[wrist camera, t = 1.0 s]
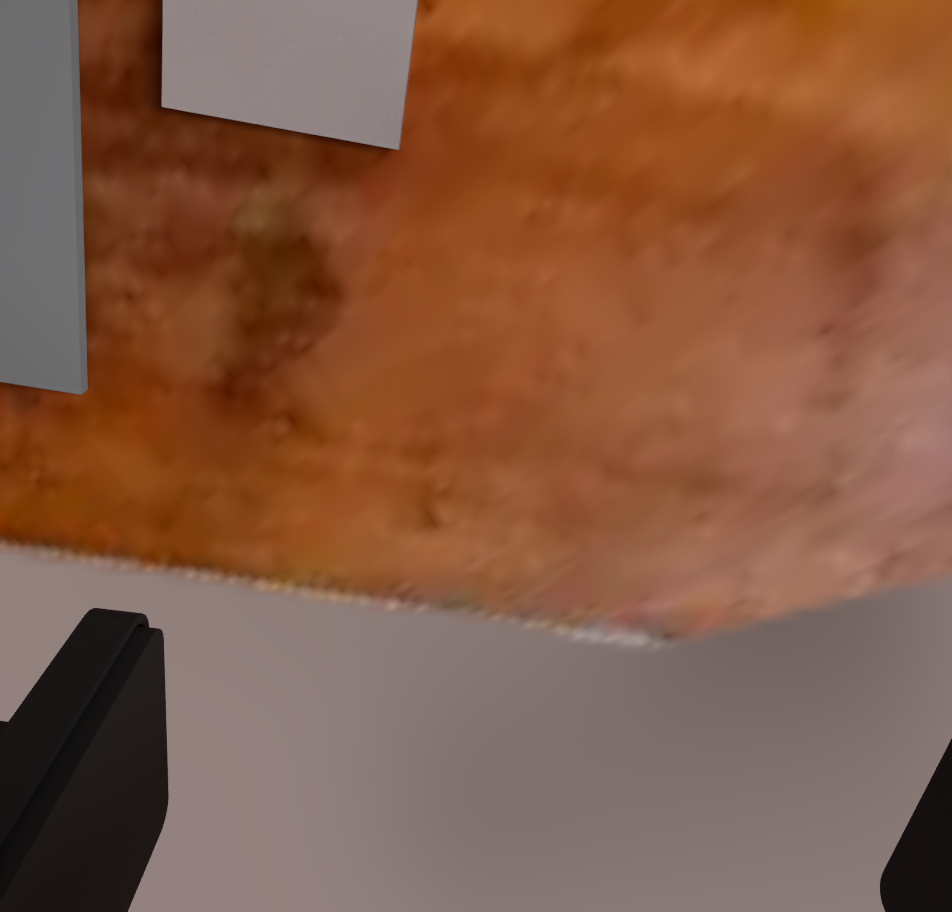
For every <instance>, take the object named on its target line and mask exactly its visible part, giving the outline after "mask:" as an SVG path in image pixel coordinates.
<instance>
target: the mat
mask: <svg viewBox="0 0 952 912" xmlns="http://www.w3.org/2000/svg"><path fill="white" fill-rule="evenodd" d="M0 382H5V383H11V384H17V385H23V386H30V387H36V388H42V389H49V390H55V391H61V392H68V393H74V394H80V395H81V394H83V393H84V392H85V391H86V390H88V377H87V339H86V301H85V263H84V225H83V187H82V150H81V112H80V74H79V36H78V0H0Z"/></svg>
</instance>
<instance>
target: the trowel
mask: <svg viewBox="0 0 952 912" xmlns="http://www.w3.org/2000/svg"><path fill="white" fill-rule="evenodd" d="M418 5H419V0H163V36H162V107H165V108H171V109H176V110H182V111H187V112H193V113H198V114H204V115H209V116H215V117H220V118H226V119H231V120H237V121H242V122H248V123H253V124H259V125H264V126H270V127H275V128H281V129H286V130H292V131H297V132H303V133H308V134H314V135H319V136H325V137H330V138H336V139H341V140H347V141H352V142H358V143H363V144H369V145H374V146H380V147H385V148H391V149H396V150H399V149H400V148H401V140H402V132H403V124H404V116H405V108H406V101H407V93H408V85H409V77H410V69H411V61H412V53H413V45H414V37H415V29H416V21H417V13H418Z"/></svg>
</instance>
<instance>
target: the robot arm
mask: <svg viewBox="0 0 952 912" xmlns="http://www.w3.org/2000/svg"><path fill="white" fill-rule="evenodd" d="M166 732H167V731H166V699H165V667H164V638H163V633H162V630H161V629H157V628H149V623H148V619H147V617H146V615H144V614H142V613H134V612H125V611H117V610H108V609H100V608H93V609H91V610H89V611H88V612H87V613H86V614H85V616H84V617H83V618H82V620H81V621H80V623H79V624H78V625H77V627H76V628H75V630H74V631H73V632H72V634H71V635H70V637H69V638H68V639H67V641H66V642H65V644H64V645H63V646H62V648H61V649H60V651H59V652H58V653H57V655H56V656H55V657H54V659H53V660H52V662H51V663H50V665H49V666H48V667H47V669H46V670H45V671H44V673H43V674H42V676H41V677H40V679H39V680H38V681H37V683H36V684H35V686H34V687H33V688H32V690H31V691H30V692H29V694H28V695H27V697H26V698H25V700H24V701H23V702H22V704H21V705H20V706H19V708H18V709H17V711H16V712H15V714H14V715H13V716H12V718H11V719H10V720H9V722H4V721H0V912H128V910H129V907H130V904H131V902H132V900H133V897H134V895H135V893H136V890H137V888H138V886H139V883H140V881H141V878H142V876H143V874H144V871H145V869H146V867H147V864H148V862H149V859H150V857H151V855H152V852H153V850H154V847H155V845H156V843H157V840H158V838H159V835H160V833H161V830H162V828H163V824H164V821H165V816H166V812H167V806H168V765H167V733H166ZM880 895H881V900H882V904H883V907H884V909H885V912H952V739H951V741H950V743H949V745H948V747H947V749H946V751H945V753H944V755H943V757H942V759H941V760H940V763H939V764H938V766H937V768H936V770H935V772H934V774H933V776H932V778H931V780H930V782H929V784H928V786H927V788H926V790H925V792H924V793H923V795H922V797H921V799H920V801H919V803H918V805H917V807H916V809H915V811H914V813H913V815H912V817H911V819H910V821H909V823H908V825H907V826H906V828H905V830H904V832H903V834H902V836H901V838H900V840H899V842H898V844H897V846H896V848H895V850H894V852H893V854H892V856H891V858H890V860H889V861H888V863H887V865H886V867H885V869H884V871H883V874H882V877H881V881H880Z"/></svg>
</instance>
